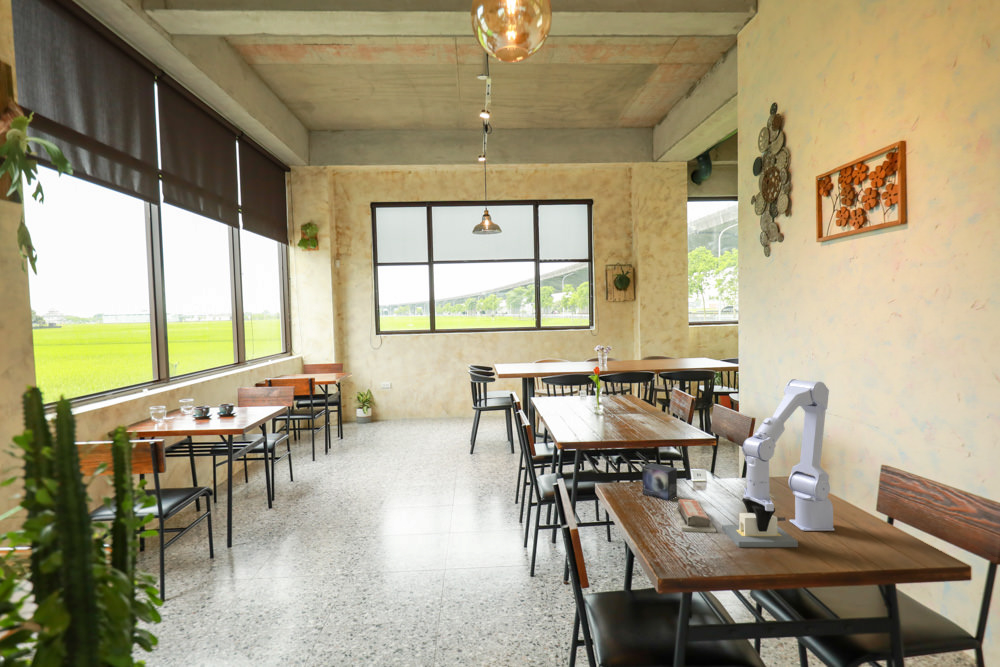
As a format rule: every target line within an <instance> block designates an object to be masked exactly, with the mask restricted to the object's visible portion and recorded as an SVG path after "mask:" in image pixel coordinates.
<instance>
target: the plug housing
mask: <svg viewBox="0 0 1000 667" xmlns="http://www.w3.org/2000/svg"><path fill="white" fill-rule="evenodd" d="M738 516H739V517H738V518H739V522H738V525H739V530H740V531H744V535H777V526H778V522H786V517H785V516H784V517H782V516H781V517H779V516H776V515H774V514H773V515H772V517H771V519H770V522H769V525H768V529H767V532H760V531H758V527H757V520H756V515H755V513H747V512H740V513H739V515H738Z"/></svg>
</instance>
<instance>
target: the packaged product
mask: <svg viewBox="0 0 1000 667" xmlns="http://www.w3.org/2000/svg"><path fill="white" fill-rule="evenodd" d="M671 509H672V513H673V515H674V517H675V520H676V523H677V525H678V527H679V528H680V531H681V532H688V533H689V532H691V533H693V532H694V533H710V532H716V533H717V529H716V528H715V526H714V524H713V522H712V521H711V519H710V518H709V516H708V514H707V513H706V511H705V509H704V507H703V506H702V504H701V503H700V501H698V500H695V499H690V498H689V499H687V498H684V499H683V498H680V499H678V501H677V507H676V506H673V507H672V508H671Z"/></svg>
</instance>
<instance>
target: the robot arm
mask: <svg viewBox="0 0 1000 667" xmlns="http://www.w3.org/2000/svg"><path fill="white" fill-rule="evenodd" d="M829 392H830V389H829V388H828V386H827V385H826V384H825V383H824V382H822V381H813V380H812V381H811V380H803V379H801V380H800V379H797V378H791V379H790V380H789V381H787V383H786V385H785V386H784V387H783V393H784V394H783V395H784V396H783V398H782V400H780V402H779V404H778V406H777V408H776V410H775V411H774V413H773V414H772V416H771V417H765V419H764V420H763V421H762V423H761V424H760V426H759V427H758V428H757V430H756V431H755V433H754V434H753V436H750V437H748V438H746V439H745V440H744V442H743V445H742V447H741V452H742V454H743V455H744V460H745V463H746V483H747V484H746V487H744V488H743V495H742V497H743V498H741V500H742V502H743V504H744V507H745V508H746V513H755V515H756V520H757V527H758V531H760V532H767V529H768V525H769V522H770V519H771V517H772V515H774V514H775V512H776V508H775V504H774V502H773V501H772V498H771V495H770V459H772V458H773V457H774V455H775V449H776V446H777V444H776V443H777V442H778V440H779V439H780V438H781V436H782V435H783V433H784V432H785V425H784V424H785V422H786V421H787V420H788V419H789V418H790V417H791V416H792V415H793V413H794V412H795V411H796V410H797V408H799V407H801V409H803V410H802V411H803V412H804V417H803V418H804V419H803V429H802V437H801V438H802V440H801V450H800V460H799V462H798V463H797V464H795V465H793V466H792V468H791V471H790V472H791V473H790V475H789V477H788V483H787V484H788V486H789V487H788V488H789V489H790V490H791V491H792V495H794V498H795V499H794V511H795V512H794V515H795V518H794V519H790V518H789V520H788V521H789V522H790V523H791V524H793V525H794V526H795V527H797V528H798V529H799V530H801V531H805V532H806V531H807V532H808V531H809V532H810V531H813V532H814V531H821V532H822V531H823V532H824V531H826V532H827V531H830V532H831V531H835V530H836V529H835V528H834V507H833V506H834V505H833V503H832V501H831V499H830V498H829V497H828V496H829V494H830V491H831V486H830V482H829V477H830V476H829V473H828V472H827V471H825V469H824V468H823V467H822V466H821V461H822V452H823V451H822V450H823V441H824V440H823V439H824V431H825V430H824V429H825V421H826V411H827V410H828V402H829V395H830V393H829Z"/></svg>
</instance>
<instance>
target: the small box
mask: <svg viewBox="0 0 1000 667" xmlns="http://www.w3.org/2000/svg"><path fill="white" fill-rule="evenodd" d="M677 471H678V469H677V468H676V467H673V466H668V465H664V464H658V463H652V462H651V463H648V464H646V465H643V466H642V494H643V495H644V494H645V495H644V496H648V495H649V497H651V496H652V497H653V498H655V497H656V499H659V498H660V499H659V500H663V501H666V500H667V502H670V501H672V500H674V499H676V498H678V489H677V488H678V481H677V476H678V475H677V474H678V472H677ZM675 497H676V498H675ZM673 498H674V499H673ZM671 499H672V500H671ZM669 500H670V501H669Z"/></svg>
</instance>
